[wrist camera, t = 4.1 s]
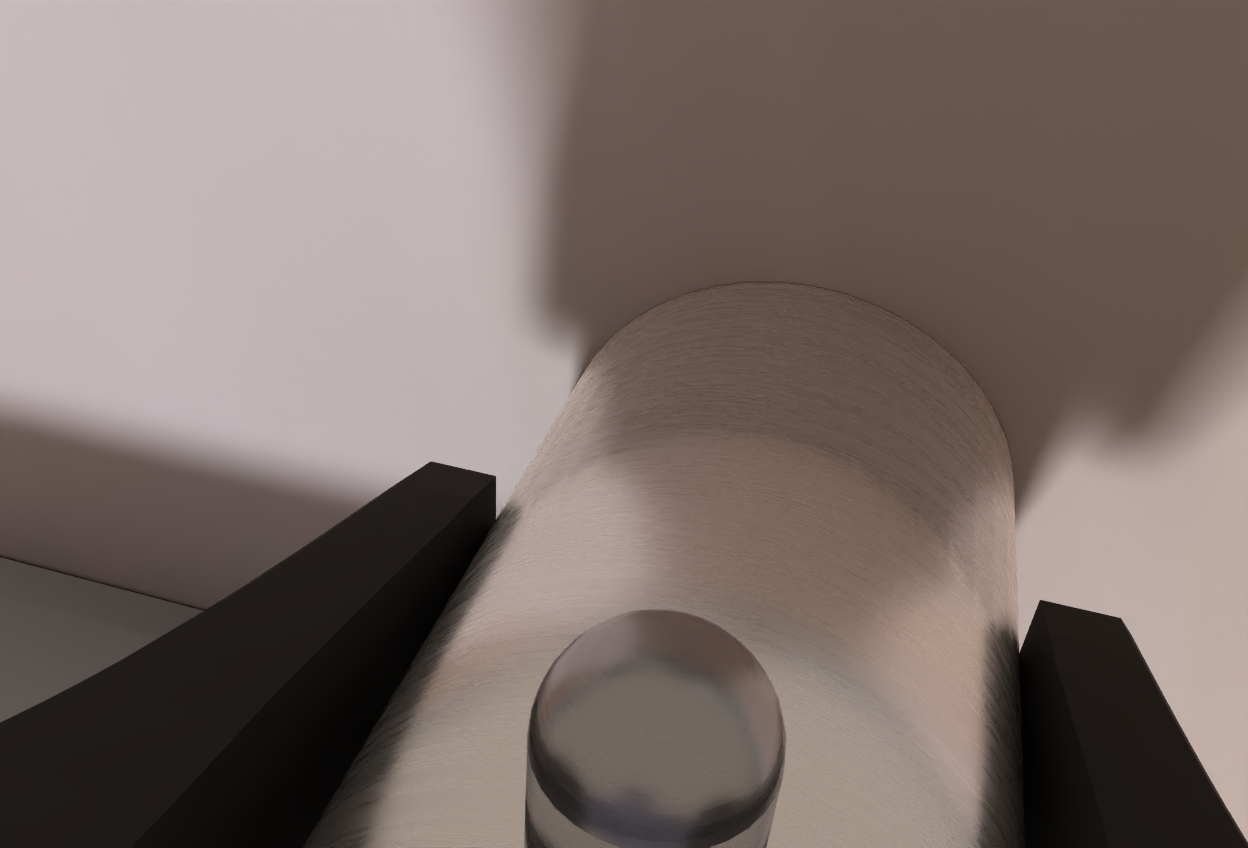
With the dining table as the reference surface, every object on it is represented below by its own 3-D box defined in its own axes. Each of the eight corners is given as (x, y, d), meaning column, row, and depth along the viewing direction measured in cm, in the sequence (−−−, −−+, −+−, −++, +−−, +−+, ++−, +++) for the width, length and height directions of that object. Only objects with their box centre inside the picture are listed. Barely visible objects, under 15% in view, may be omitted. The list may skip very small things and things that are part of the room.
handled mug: (556, 597, 13) (219, 1307, 7) (581, 74, 9) (-27, 652, 4) (950, 694, 12) (918, 1579, 6) (1135, 161, 9) (1416, 1059, 3)
